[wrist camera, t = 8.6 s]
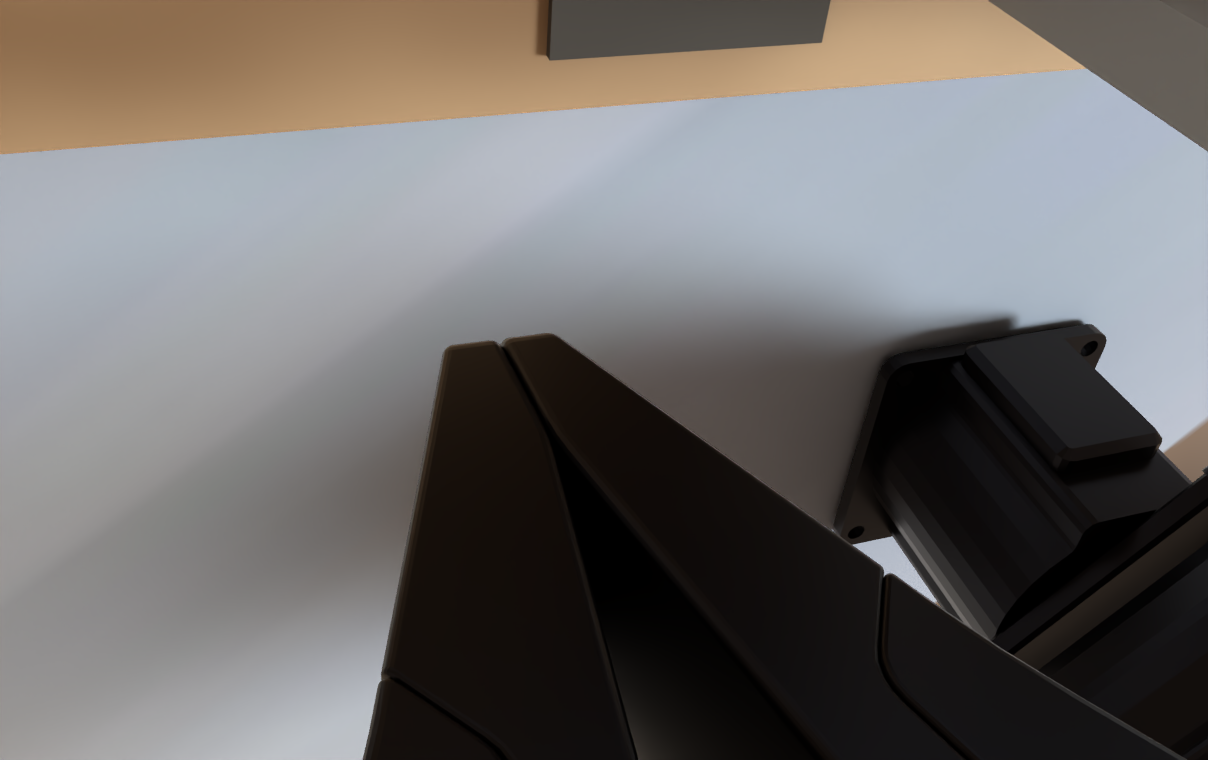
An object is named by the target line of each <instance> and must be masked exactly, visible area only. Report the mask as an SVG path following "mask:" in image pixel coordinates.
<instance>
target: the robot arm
mask: <svg viewBox="0 0 1208 760" xmlns="http://www.w3.org/2000/svg"><path fill="white" fill-rule="evenodd" d="M1106 341H1107V340H1106V337H1105V335H1104V334H1103V333H1102V332H1100V331H1099V330H1098V329H1097V328H1096V327H1095V326H1094V325H1092V324H1085V325H1078V326H1072V327H1066V328H1059V329H1053V330H1047V331H1040V332H1034V333H1028V334H1021V335H1015V336H1009V337H1002V338H996V339H990V340H983V341H977V342H971V343H965V344H958V345H952V346H946V347H939V348H933V349H927V350H920V351H914V352H908V353H901V354H898V355H895V356H893V357H892V358H890V359H889V360H887V361H886V362H885V363H884V365H883V366H882V367H881V369H880V371H879V374H878V378H877V381H876V384H875V388H874V391H873V394H872V398H871V401H870V404H869V408H868V411H867V414H866V418H865V421H864V425H863V428H862V431H861V435H860V438H859V441H858V445H857V448H856V451H855V455H854V458H853V461H852V465H851V468H850V472H849V475H848V478H847V482H846V485H845V488H844V492H843V495H842V498H841V502H840V505H839V508H838V512H837V515H836V519H835V522H834V525H833V530H834V532H835V533H834V532H833V531H832V530H830V529H829V528H827V527H826V526H825V525H823V524H822V523H820V522H819V521H818V520H816V519H815V518H813V517H812V516H810V515H809V514H808V513H806V512H805V511H803V510H802V509H801V508H799V507H798V506H796V505H795V504H794V503H792V502H791V501H789V500H788V499H787V498H785V497H784V496H782V495H781V494H780V493H778V492H777V491H775V490H774V489H772V488H771V487H770V486H768V485H767V484H765V483H764V482H763V481H761V480H760V479H758V478H757V477H756V476H754V475H753V474H751V473H750V472H749V471H747V470H746V469H744V468H743V467H742V466H740V465H739V464H737V463H736V462H735V461H733V460H732V459H730V458H729V457H727V456H726V455H725V454H723V453H722V452H720V451H719V450H718V449H716V448H715V447H713V446H712V445H711V444H709V443H708V442H706V441H705V440H704V439H702V438H701V437H699V436H698V435H697V434H695V433H694V432H692V431H691V430H689V429H688V428H687V427H685V426H684V425H682V424H681V423H680V422H678V421H677V420H675V419H674V418H673V417H671V416H670V415H668V414H667V413H666V412H664V411H663V410H661V409H660V408H659V407H657V406H656V405H654V404H653V403H651V402H650V401H649V400H647V399H646V398H644V397H643V396H642V395H640V394H639V393H637V392H636V391H635V390H633V389H632V388H630V387H629V386H628V385H626V384H625V383H623V382H622V381H621V380H619V379H618V378H616V377H615V376H613V375H612V374H611V373H609V372H608V371H606V370H605V369H604V368H602V367H601V366H599V365H598V364H597V363H595V362H594V361H592V360H591V359H590V358H588V357H587V356H585V355H584V354H583V353H581V352H580V351H578V350H577V349H575V348H574V347H573V346H571V345H570V344H568V343H567V342H566V341H564V340H563V339H561V338H560V337H558V336H556V335H554V334H551V333H543V334H535V335H528V336H520V337H512V338H507V339H505V340H504V341H503V342H502V343H501V345H499V343H497V342H494V341H481V342H473V343H465V344H457V345H451V346H449V347H447V348H446V349H445V351H444V352H443V356H442V361H441V366H440V372H439V377H438V382H437V387H436V392H435V398H434V403H433V408H432V413H431V418H430V423H429V429H428V434H427V439H426V444H425V449H424V454H423V460H422V465H421V470H420V475H419V480H418V485H417V491H416V496H415V501H414V506H413V511H412V517H411V522H410V527H409V532H408V537H407V542H406V548H405V553H404V558H403V563H402V568H401V573H400V579H399V584H398V589H397V594H396V599H395V604H394V610H393V615H392V620H391V625H390V630H389V635H388V641H387V646H386V651H385V656H384V661H383V667H382V672H381V680H382V681H380V683H379V685H378V688H377V694H376V699H375V704H374V709H373V715H372V720H371V725H370V730H369V735H368V739H367V743H366V748H365V752H364V756H363V760H1208V466H1207V467H1205V468H1204V469H1203V470H1202V471H1203V472H1204V473H1205V474H1203V475H1202V476H1201V477H1200V478H1198V479H1197V480H1196V481H1194V482H1193V483H1192V482H1191V481H1190V480H1189V479H1188V478H1187V477H1186V476H1185V475H1184V474H1183V473H1182V472H1181V471H1180V470H1179V469H1178V468H1177V467H1176V466H1175V465H1174V464H1173V463H1172V462H1171V461H1170V460H1169V459H1168V458H1167V457H1166V456H1165V455H1164V454H1163V453H1162V452H1161V451H1160V450H1159V449H1158V448H1159V446H1160V445H1161V443H1162V438H1161V436H1160V434H1159V433H1158V432H1157V430H1156V429H1155V428H1154V427H1153V426H1152V425H1151V424H1150V423H1149V422H1148V421H1147V420H1146V419H1145V418H1144V417H1143V416H1142V415H1141V414H1140V413H1139V412H1138V411H1137V410H1136V409H1135V408H1134V407H1133V406H1132V405H1131V404H1130V403H1129V402H1128V401H1127V400H1126V399H1125V398H1124V397H1123V396H1122V395H1121V394H1120V393H1119V392H1118V391H1117V390H1116V389H1115V388H1114V387H1113V386H1112V385H1111V384H1110V383H1109V382H1107V381H1106V380H1105V379H1104V378H1103V377H1102V376H1101V375H1100V374H1099V373H1098V372H1097V371H1096V370H1095V367H1096V365H1097V363H1098V361H1099V358H1100V356H1101V354H1102V352H1103V350H1104V347H1105V344H1106ZM891 536H893V537H894V539H895V540H896V542H897V543H898V545H899V546H900V548H901V549H902V551H903V552H904V553H905V555H906V556H907V558H908V559H909V561H910V562H911V564H912V565H913V567H914V568H915V570H916V571H917V572H918V574H919V575H920V577H921V578H922V580H923V581H924V583H925V584H926V586H927V587H928V588H929V590H930V591H931V593H932V594H933V596H934V597H935V599H936V600H937V602H938V603H939V604H940V606H941V607H942V608H941V607H939V606H938V605H937V604H935V603H934V602H932V601H931V600H929V599H928V598H927V597H925V596H924V595H922V594H921V593H920V592H918V591H917V590H915V589H914V588H912V587H911V586H910V585H908V584H907V583H905V582H904V581H903V580H901V579H900V578H898V577H897V576H896V575H894V574H891V573H889V574H887V575H885V576H884V570H883V567H882V566H881V565H879V564H878V563H877V562H875V561H874V560H872V559H871V558H870V557H868V556H867V555H865V554H864V553H863V552H861V551H860V550H858V549H857V548H856V547H854V546H853V544H857V543H862V542H867V541H872V540H876V539H881V538H886V537H891Z"/></svg>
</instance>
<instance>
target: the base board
mask: <svg viewBox="0 0 1208 760" xmlns="http://www.w3.org/2000/svg"><path fill="white" fill-rule="evenodd" d="M1075 69H1087V68H1086V67H1084V66H1083V65H1081V64H1080V63H1078V62H1077V61H1075V60H1074V59H1072V58H1071V57H1070V56H1068V55H1067V54H1065V53H1064V52H1062V51H1061V50H1059V49H1058V48H1056V47H1055V46H1053V45H1052V44H1051V43H1049V42H1048V41H1046V40H1045V39H1043V38H1042V37H1040V36H1039V35H1037V34H1036V33H1035V32H1033V31H1032V30H1030V29H1029V28H1027V27H1026V26H1024V25H1023V24H1021V23H1020V22H1019V21H1017V20H1016V19H1014V18H1013V17H1011V16H1010V15H1008V14H1007V13H1005V12H1004V11H1002V10H1001V9H1000V8H998V7H997V6H995V5H994V4H992V3H991V2H989V1H988V0H0V154H10V153H23V152H35V151H48V150H61V149H73V148H86V147H99V146H111V145H124V144H137V143H149V142H162V141H175V140H187V139H200V138H213V137H225V136H238V135H251V134H263V133H276V132H289V131H301V130H314V129H327V128H339V127H352V126H365V125H377V124H390V123H403V122H415V121H428V120H441V119H453V118H466V117H479V116H492V115H504V114H517V113H530V112H542V111H555V110H568V109H580V108H593V107H606V106H618V105H631V104H644V103H656V102H669V101H682V100H694V99H707V98H720V97H732V96H745V95H758V94H770V93H783V92H796V91H808V90H821V89H834V88H846V87H859V86H872V85H884V84H897V83H910V82H922V81H935V80H948V79H961V78H973V77H986V76H999V75H1011V74H1024V73H1037V72H1049V71H1062V70H1075Z"/></svg>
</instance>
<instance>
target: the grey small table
mask: <svg viewBox="0 0 1208 760" xmlns="http://www.w3.org/2000/svg"><path fill="white" fill-rule="evenodd" d="M988 1H989V2H991V3H992V4H994V5H995V6H997V7H998V8H1000V9H1001V10H1002V11H1004V12H1005V13H1007V14H1008V15H1010V16H1011V17H1013V18H1014V19H1016V20H1017V21H1019V22H1020V23H1021V24H1023V25H1024V26H1026V27H1027V28H1029V29H1030V30H1032V31H1033V32H1035V33H1036V34H1037V35H1039V36H1040V37H1042V38H1043V39H1045V40H1046V41H1048V42H1049V43H1051V44H1052V45H1053V46H1055V47H1056V48H1058V49H1059V50H1061V51H1062V52H1064V53H1065V54H1067V55H1068V56H1070V57H1071V58H1072V59H1074V60H1075V61H1077V62H1078V63H1080V64H1081V65H1083V66H1084V67H1086V68H1087V69H1088V70H1090V71H1091V72H1093V73H1094V74H1096V75H1097V76H1099V77H1100V78H1102V79H1103V80H1104V81H1106V82H1107V83H1109V84H1110V85H1112V86H1113V87H1115V88H1116V89H1118V90H1119V91H1120V92H1122V93H1123V94H1125V95H1126V96H1128V97H1129V98H1131V99H1132V100H1134V101H1135V102H1137V103H1138V104H1139V105H1141V106H1142V107H1144V108H1145V109H1147V110H1148V111H1150V112H1151V113H1153V114H1154V115H1155V116H1157V117H1158V118H1160V119H1161V120H1163V121H1164V122H1166V123H1167V124H1169V125H1170V126H1171V127H1173V128H1174V129H1176V130H1177V131H1179V132H1180V133H1182V134H1183V135H1185V136H1186V137H1188V138H1189V139H1190V140H1192V141H1193V142H1195V143H1196V144H1198V145H1199V146H1201V147H1202V148H1204V149H1205V150H1206V151H1208V0H988Z"/></svg>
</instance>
